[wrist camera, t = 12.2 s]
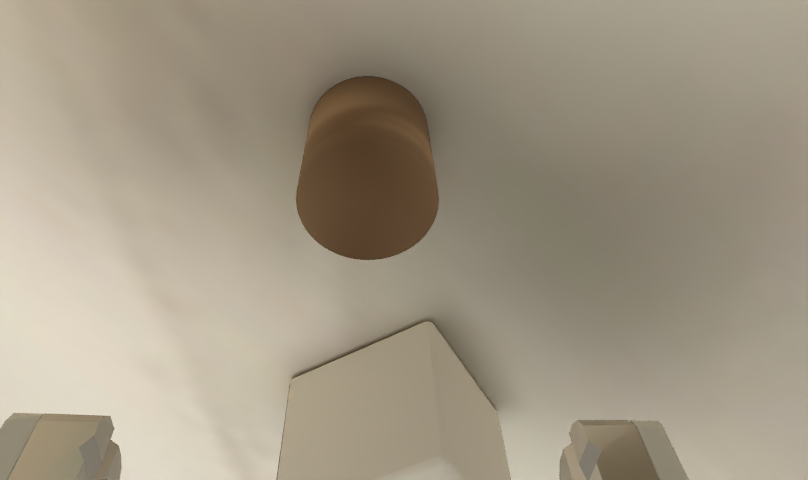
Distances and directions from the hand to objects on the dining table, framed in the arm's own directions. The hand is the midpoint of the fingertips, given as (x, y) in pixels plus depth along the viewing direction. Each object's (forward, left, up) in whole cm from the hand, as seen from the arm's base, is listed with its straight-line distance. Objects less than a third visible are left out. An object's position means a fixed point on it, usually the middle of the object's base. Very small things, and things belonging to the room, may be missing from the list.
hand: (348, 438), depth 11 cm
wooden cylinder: (0, 0, -13) cm, 13 cm away
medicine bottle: (-2, +13, -13) cm, 18 cm away
